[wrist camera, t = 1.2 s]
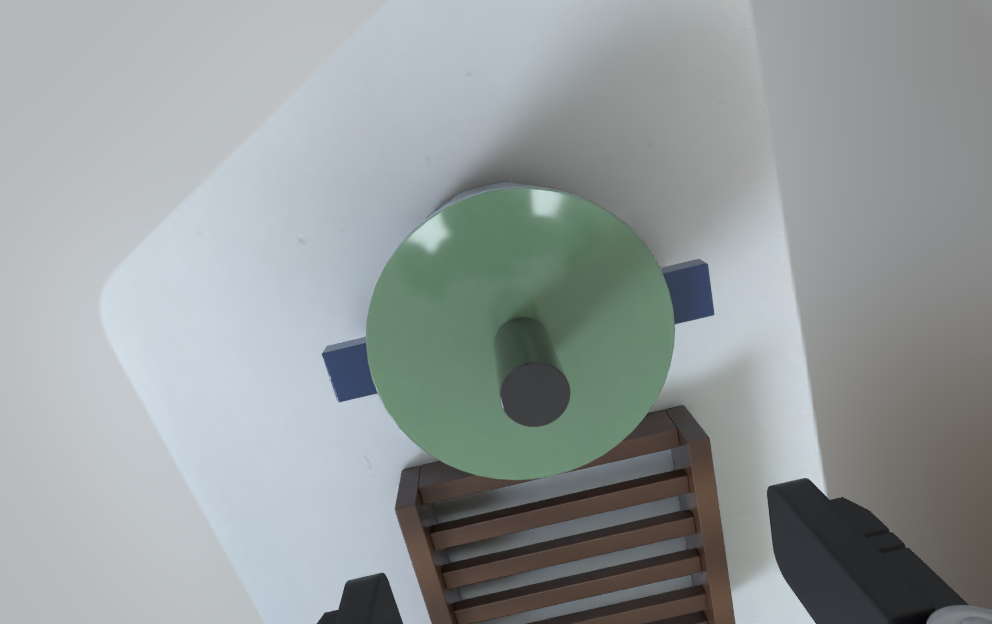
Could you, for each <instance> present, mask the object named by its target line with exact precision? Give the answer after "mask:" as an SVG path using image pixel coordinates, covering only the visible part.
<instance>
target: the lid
mask: <svg viewBox="0 0 992 624" xmlns="http://www.w3.org/2000/svg"><path fill="white" fill-rule="evenodd" d="M674 334H675V324H674V311H673V305H672V301H671V296H670V292H669V288H668V286H667V283H666V280H665V278H664V275H663V272H662V270H661V269H660V267H659V265H658V263H657V261H656V260H655V258H654V256H653V254H652V253H651V252H650V250H649V249H648V248H647V246H646V245H645V244H644V242H643V241H642V240H641V238H640V237H639V236H638V235H637V234H636V233H635V232H634V231H633V230H632V229H631V228H630V227H629V226H628V225H627V224H625V223H624V222H623V221H621V220H620V219H619V218H617V217H616V216H615V215H613V214H612V213H611V212H609V211H608V210H606V209H604V208H602V207H600V206H599V205H597V204H595V203H593V202H591V201H589V200H587V199H584V198H582V197H579V196H577V195H574V194H571V193H568V192H564V191H559V190H555V189H551V188H543V187H533V186H518V187H504V188H498V189H492V190H486V191H483V192H480V193H476V194H473V195H470V196H467V197H464V198H462V199H460V200H458V201H456V202H453V203H451V204H449V205H447V206H445V207H444V208H442V209H441V210H439V211H437V212H436V213H434V214H433V215H431V216H430V217H428V218H427V219H426V220H425V221H423V222H422V223H421V224H420V225H419V226H417V227H416V228H415V229H414V230H413V231H412V232H411V233H410V234H409V235H408V236H407V237H406V238H405V239H404V241H403V242H402V243H401V244H400V245H399V246H398V248H397V249H396V251H395V252H394V254H393V255H392V256H391V258H390V259H389V261H388V262H387V264H386V266H385V268H384V270H383V272H382V274H381V276H380V278H379V280H378V282H377V284H376V287H375V290H374V293H373V296H372V299H371V302H370V307H369V312H368V318H367V326H366V348H367V359H368V364H369V368H370V372H371V376H372V380H373V383H374V385H375V388H376V390H377V393H378V395H379V398H380V399H381V401H382V403H383V405H384V406H385V408H386V410H387V412H388V413H389V415H390V416H391V417H392V419H393V420H394V421H395V423H396V424H397V425H398V427H399V428H400V429H401V430H402V431H403V432H404V433H405V434H406V435H407V436H408V437H409V438H410V439H411V440H412V441H413V442H414V443H415V444H417V445H418V446H419V447H420V448H422V449H423V450H424V451H425V452H427V453H428V454H430V455H431V456H433V457H435V458H436V459H438V460H440V461H441V462H443V463H445V464H448V465H450V466H452V467H454V468H457V469H459V470H461V471H465V472H468V473H471V474H475V475H478V476H483V477H489V478H494V479H506V480H526V479H538V478H543V477H549V476H554V475H558V474H561V473H564V472H568V471H571V470H574V469H576V468H578V467H581V466H583V465H585V464H588V463H590V462H591V461H593V460H595V459H597V458H599V457H600V456H602V455H604V454H605V453H607V452H608V451H610V450H611V449H612V448H614V447H615V446H616V445H618V444H619V443H620V442H621V441H622V440H624V439H625V438H626V437H627V436H628V435H629V434H630V433H631V432H632V431H633V430H634V429H635V428H636V427H637V426H638V424H639V423H640V422H641V421H642V420H643V418H644V417H645V416H646V415H647V413H648V412H649V410H650V408H651V407H652V405H653V404H654V402H655V401H656V399H657V397H658V395H659V393H660V391H661V389H662V387H663V385H664V382H665V379H666V376H667V373H668V370H669V367H670V363H671V358H672V353H673V348H674Z"/></svg>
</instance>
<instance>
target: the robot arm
mask: <svg viewBox="0 0 992 624" xmlns="http://www.w3.org/2000/svg"><path fill="white" fill-rule="evenodd" d="M767 499H768V507H769V516H770V525H771V534H772V542H773V550H774V554H775V558H776V561H777V564H778V566H779V569H780V571H781V573H782V575H783V577H784V579H785V580H786V582H787V583H788V585H789V586H790V587H791V589H792V590H793V592H794V593H795V595H796V596H797V597H798V599H799V600H800V602H801V603H802V604H803V606H804V607H805V609H806V610H807V612H808V613H809V614H810V616H811V617H812V619H813V620H814V621H815V623H816V624H992V610H989V609H985V608H981V607H976V606H969V605H968V604H967V603H966V602H965V601H964V600H963V599H962V598H961V597H960V596H959V595H958V594H957V593H956V592H955V591H954V590H953V589H951V588H950V587H949V586H948V585H947V584H946V583H945V582H944V581H943V580H942V579H941V578H940V577H939V576H938V575H937V574H936V573H935V572H933V571H932V570H931V569H930V568H929V567H928V566H927V565H926V564H925V563H924V562H923V561H922V560H921V559H920V558H919V557H918V556H917V555H915V554H914V552H912V551H911V550H910V549H909V548H906V547H905V545H904V543H903V542H902V541H901V540H900V539H899V538H898V537H897V536H896V535H894V533H890V532H889V529H888V528H887V527H886V526H885V525H884V524H883V523H882V522H881V521H880V520H879V519H878V518H876V517H875V515H873V514H872V513H871V512H870V511H869V510H867V509H865V508H863V507H861V506H859V505H857V504H855V503H853V502H851V501H849V500H847V499H845V498H843V497H842V498H837V499H833V500H829V499H828V498H827V497H826V496H825V495H824V494H823V493H822V492H821V491H820V490H819V489H818V488H817V487H816V486H815V485H814V484H813V483H812V482H811V481H810V480H809V479H807V478H803V479H799V480H794V481H790V482H785V483H781V484H777V485H772V486H769V487H768V490H767ZM317 624H403V622H402V619H401V616H400V613H399V610H398V608H397V605H396V602H395V599H394V596H393V593H392V590H391V587H390V584H389V581H388V579H387V577H386V575H385V574H384V573H379V574H375V575H370V576H366V577H361V578H357V579H353V580H349V581H347V582H346V584H345V587H344V591H343V595H342V598H341V602H340V606H339V610H335V611H331V612H326V613H324V615H323V616H322V617H321V619H320V620H319V622H318V623H317Z"/></svg>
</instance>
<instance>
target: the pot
mask: <svg viewBox="0 0 992 624" xmlns="http://www.w3.org/2000/svg"><path fill="white" fill-rule="evenodd" d="M518 186H533V185H529V184H522V183H514V182H508V181H507V182H500V183H495V184H489V185H483V186H480V187H477V188H474V189H470V190H466V191H463V192H461V193H460V194H458V195H457V196H455V197H454V198H452V199H451V200H449V201H448V202H446V203H445V204H443V205H442V206H441V207H440V208H439V209H437V210H436V211H435V212H434V213H436V212H437V211H439V210H441V209H442V208H444V207H445V206H447V205H449V204H451V203H453V202H456V201H458V200H460V199H462V198H464V197H467V196H470V195H473V194H476V193H480V192H483V191H486V190H492V189H498V188H504V187H518ZM533 187H537V186H533ZM434 213H432V214H431V215H433V214H434ZM431 215H430V216H431ZM430 216H428V217H430ZM428 217H427V218H428ZM427 218H426V219H427ZM660 269H661V270H662V272H663V275H664V278H665V280H666V283H667V286H668V288H669V292H670V296H671V301H672V305H673V311H674V324H678V323H682V322H687V321H691V320H695V319H699V318H704V317H708V316H712V315H714V308H713V300H712V292H711V284H710V276H709V269H708V264H707V263H706V262H704V261H702V260H700V259H697V260H692V261H688V262H684V263H680V264H675V265H671V266H667V267H663V268H660ZM322 356H323V359H324V362H325V365H326V368H327V371H328V374H329V377H330V380H331V383H332V386H333V389H334V392H335V395H336V398H337V401H338V402H342V401H347V400H351V399H355V398H360V397H364V396H368V395H373V394H377V390H376V388H375V385H374V383H373V380H372V376H371V372H370V368H369V364H368V359H367V348H366V337H363V338H359V339H355V340H351V341H346V342H342V343H338V344H334V345H329V346H327V347H326V348H325V350H324V351H323V353H322Z"/></svg>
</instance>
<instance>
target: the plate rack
mask: <svg viewBox="0 0 992 624" xmlns="http://www.w3.org/2000/svg"><path fill="white" fill-rule="evenodd" d="M668 449H671V452H672V458H673V464H674V470H673V471H669V472H665V473H660V474H656V475H651V476H647V477H643V478H638V479H634V480H629V481H625V482H621V483H616V484H612V485H607V486H603V487H599V488H594V489H590V490H585V491H581V492H577V493H572V494H568V495H563V496H559V497H555V498H550V499H546V500H541V501H537V502H533V503H528V504H524V505H519V506H515V507H511V508H506V509H502V510H497V511H493V512H489V513H484V514H480V515H475V516H471V517H467V518H462V519H458V520H453V521H449V522H445V523H440V524H438V522H437V518H436V515H435V512H434V508H433V505H432V503H435V502H440V501H444V500H448V499H453V498H457V497H461V496H466V495H470V494H475V493H479V492H483V491H488V490H492V489H497V488H501V487H505V486H510V485H514V484H518V483H523V482H527V481H532V480H536V479H526V480H506V479H494V478H489V477H483V476H478V475H475V474H471V473H468V472H465V471H461V470H459V469H457V468H454V467H452V466H450V465H448V464H445V463H443V462H441V461H440V462H436V463H432V464H427V465H423V466H421V467H420V466H419V467H415V468H410V469H406V470H402V473H401V478H400V484H399V489H398V495H397V500H396V505H395V512H396V515H397V519H398V522H399V525H400V528H401V531H402V534H403V537H404V540H405V543H406V546H407V549H408V552H409V555H410V558H411V561H412V565H413V568H414V571H415V574H416V577H417V580H418V583H419V586H420V589H421V592H422V595H423V598H424V601H425V604H426V607H427V611H428V614H429V617H430V620H431V623H432V624H472V623H476V622H481V621H485V620H489V619H494V618H498V617H503V616H507V615H512V614H516V613H521V612H525V611H530V610H534V609H539V608H543V607H548V606H552V605H557V604H561V603H565V602H570V601H574V600H579V599H583V598H588V597H592V596H597V595H601V594H606V593H610V592H615V591H619V590H624V589H628V588H633V587H637V586H642V585H646V584H650V583H655V582H659V581H664V580H668V579H673V578H677V577H682V576H686V575H692V581H693V587H689V588H684V589H680V590H675V591H671V592H667V593H662V594H658V595H653V596H649V597H644V598H640V599H635V600H631V601H626V602H622V603H617V604H613V605H608V606H604V607H599V608H595V609H590V610H586V611H581V612H577V613H572V614H568V615H563V616H559V617H554V618H550V619H546V620H541V621H537V622H532V623H528V624H735V618H734V610H733V603H732V596H731V589H730V582H729V575H728V568H727V560H726V553H725V546H724V539H723V532H722V525H721V518H720V510H719V503H718V496H717V489H716V482H715V475H714V468H713V460H712V453H711V446H710V439H709V437H708V436H707V434H706V433H705V432H704V430H703V429H702V428H701V427H700V425H699V424H698V423H697V421H696V420H695V419H694V418H693V416H692V415H691V414H690V413H689V411H688V410H687V409H686V407H685V406H680V407H675V408H671V409H667V410H663V411H658V412H654V413H650V414H647V415H646V416H645V417H644V418H643V420H642V421H641V422H640V423H639V424H638V426H637V427H636V428H635V429H634V430H633V431H632V432H631V433H630V434H629V435H628V436H627V437H626V438H625V439H624V440H622V441H621V442H620V443H619V444H618V445H616V446H615V447H614V448H612V449H611V450H610V451H608V452H607V453H605V454H604V455H602V456H600V457H599V458H597V459H595V460H593V461H591V462H590V463H588V464H585V465H583V466H581V467H578V468H576V469H574V470H571V471H575V470H580V469H584V468H589V467H593V466H597V465H602V464H606V463H611V462H615V461H619V460H624V459H628V458H633V457H637V456H641V455H646V454H650V453H654V452H659V451H663V450H668ZM571 471H568V472H571ZM564 473H567V472H564ZM561 474H562V473H561ZM543 478H545V477H543ZM538 479H540V478H538ZM674 496H679V501H680V507H681V511H678V512H674V513H670V514H665V515H661V516H656V517H652V518H647V519H643V520H639V521H634V522H630V523H625V524H621V525H616V526H612V527H608V528H603V529H599V530H594V531H590V532H585V533H581V534H577V535H572V536H568V537H563V538H559V539H554V540H550V541H546V542H541V543H537V544H532V545H528V546H523V547H519V548H515V549H510V550H506V551H501V552H497V553H492V554H488V555H484V556H479V557H475V558H470V559H466V560H461V561H457V562H453V563H450V561H449V558H448V555H447V551H446V548H449V547H453V546H458V545H462V544H467V543H471V542H476V541H480V540H484V539H489V538H493V537H498V536H502V535H507V534H511V533H515V532H520V531H524V530H529V529H533V528H537V527H542V526H546V525H551V524H555V523H560V522H564V521H568V520H573V519H577V518H582V517H586V516H590V515H595V514H599V513H604V512H608V511H613V510H617V509H621V508H626V507H630V506H635V505H639V504H643V503H648V502H652V501H657V500H661V499H666V498H670V497H674ZM682 536H685V538H686V544H687V550H684V551H679V552H675V553H670V554H666V555H662V556H657V557H653V558H648V559H644V560H639V561H635V562H630V563H626V564H621V565H617V566H613V567H608V568H604V569H599V570H595V571H590V572H586V573H581V574H577V575H572V576H568V577H564V578H559V579H555V580H550V581H546V582H541V583H537V584H532V585H528V586H523V587H519V588H515V589H510V590H506V591H501V592H497V593H492V594H488V595H483V596H479V597H474V598H470V599H466V600H461V597H460V594H459V591H458V588H457V587H460V586H464V585H469V584H473V583H478V582H482V581H487V580H491V579H495V578H500V577H504V576H509V575H513V574H518V573H522V572H527V571H531V570H535V569H540V568H544V567H549V566H553V565H558V564H562V563H567V562H571V561H576V560H580V559H584V558H589V557H593V556H598V555H602V554H607V553H611V552H616V551H620V550H624V549H629V548H633V547H638V546H642V545H647V544H651V543H656V542H660V541H664V540H669V539H673V538H678V537H682Z"/></svg>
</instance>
